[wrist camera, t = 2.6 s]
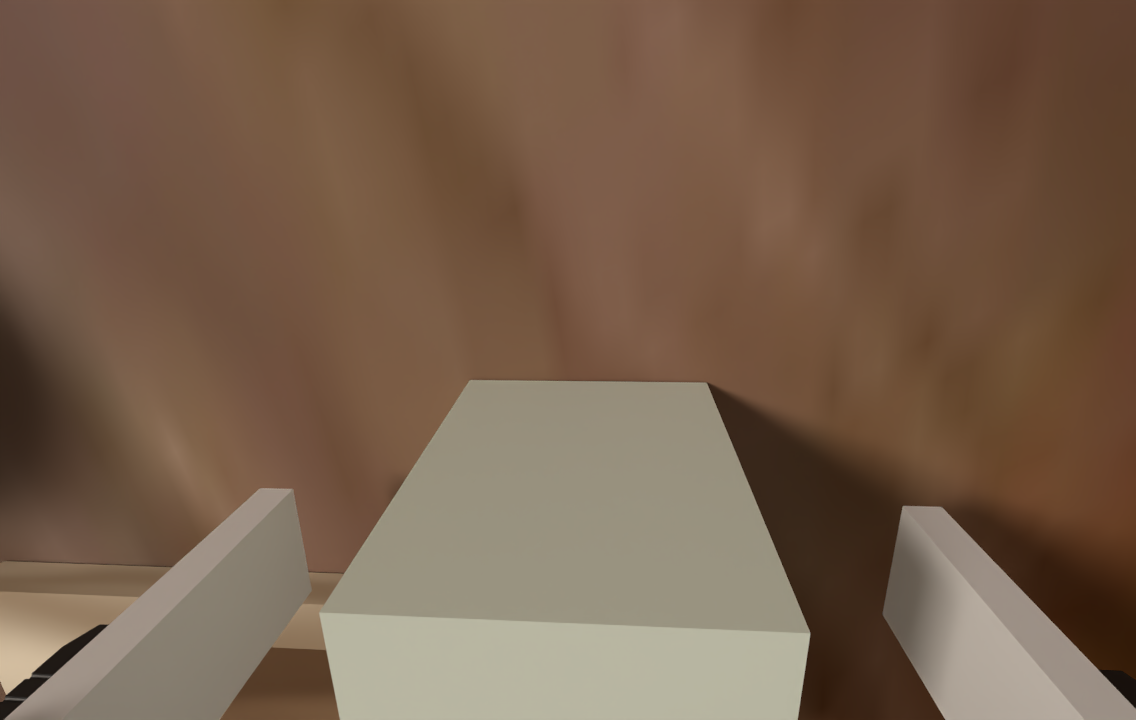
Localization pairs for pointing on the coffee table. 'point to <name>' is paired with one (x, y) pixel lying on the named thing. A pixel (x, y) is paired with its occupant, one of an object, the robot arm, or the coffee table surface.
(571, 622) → the pale green block
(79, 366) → the coffee table surface
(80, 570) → the board
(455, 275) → the coffee table surface
